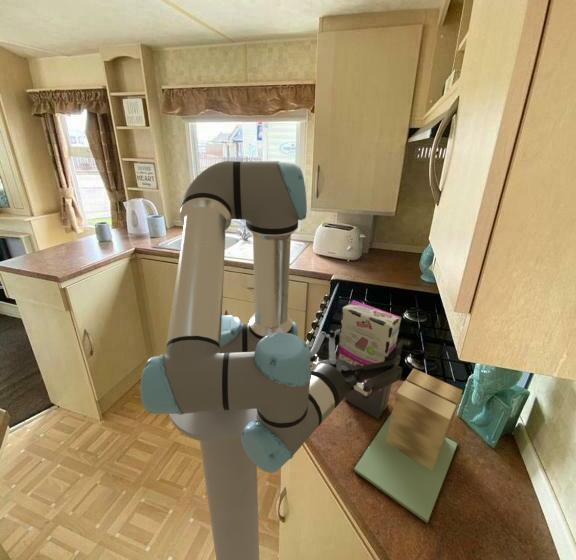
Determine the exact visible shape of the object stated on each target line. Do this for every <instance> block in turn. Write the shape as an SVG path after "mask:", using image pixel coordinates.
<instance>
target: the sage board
mask: <svg viewBox="0 0 576 560" xmlns="http://www.w3.org/2000/svg"><path fill="white" fill-rule="evenodd" d="M392 412H393V410H392ZM392 412H391V413H390V415H388V416H387V419H386V420H385V422H384V423H383V425H382V426H381V428H380V429H379V430H378V432H377V434H376V435H375V436H374V439H373V440H372V441H371V443H370V444H369V446H368V447H367V449H366V450H365V451H364V453H363V455H362V456H361V458H360V459H359V460H358V462H357V464H356V465H355V467H354V468H353V471H354V472H355V473H356V474H357V475H359V476H360V477H362V478H363V479H365V480H366V481H367V482H369V483H370V484H372V486H374V487H376V488H377V489H378V490H379V491H381V492H383V493H384V494H385V495H387V496H388V497H390V498H391V499H392V500H394V501H395V502H396V503H398V504H399V505H401V506H402V507H403V508H405V509H406V510H408V511H409V512H410V513H412V514H414V515H415V516H416V517H417V518H418V519H420V520H422V521H423V522H424V523H426V524H428V523H429V520H430V517H431V515H432V511H433V510H434V507H435V505H436V501H437V499H438V496H439V494H440V492H441V488H442V486H443V483H444V481H445V478H446V475H447V473H448V470H449V467H450V465H451V462H452V460H453V457H454V455H455V451H456V450H457V446H458V442H455V441H454V440H452V439H450V438H448V437H447V438H446V440H445V443H444V445H443V448H442V450H441V452H440V454H439V457H438V459H437V462H436V464H435V466H434V469H433V471H431V470H430V469H428V468H426V467H425V466H423V465H422V464H420V463H418V462H417V461H415V460H414V459H412V458H410V457H409V456H407V455H405V454H404V453H402V452H401V451H399V450H397V449H396V448H394V447H393V446H391V445H389V444H388V443H386V438H387V433H388V429H389V425H390V420H391V416H392Z"/></svg>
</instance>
